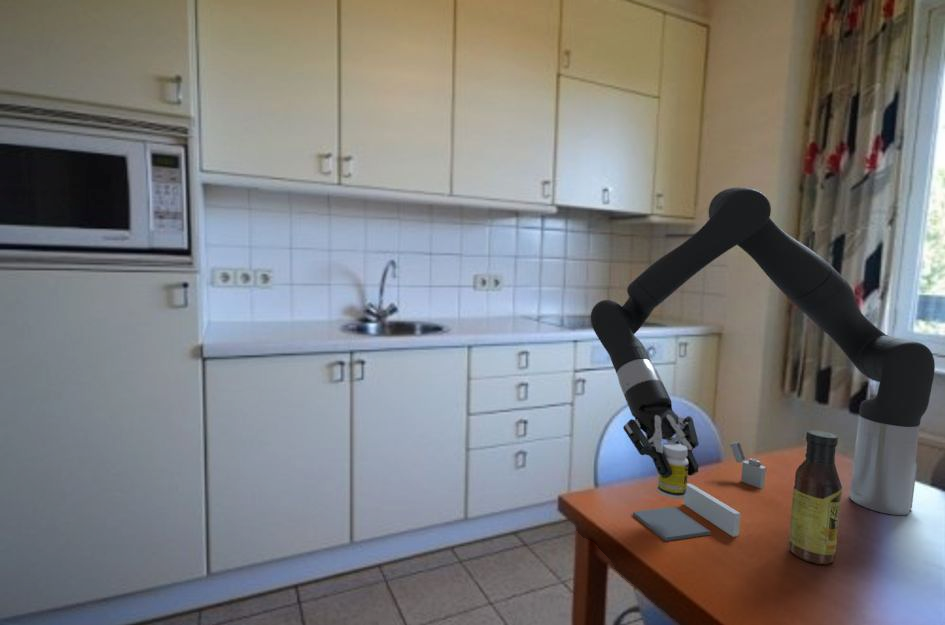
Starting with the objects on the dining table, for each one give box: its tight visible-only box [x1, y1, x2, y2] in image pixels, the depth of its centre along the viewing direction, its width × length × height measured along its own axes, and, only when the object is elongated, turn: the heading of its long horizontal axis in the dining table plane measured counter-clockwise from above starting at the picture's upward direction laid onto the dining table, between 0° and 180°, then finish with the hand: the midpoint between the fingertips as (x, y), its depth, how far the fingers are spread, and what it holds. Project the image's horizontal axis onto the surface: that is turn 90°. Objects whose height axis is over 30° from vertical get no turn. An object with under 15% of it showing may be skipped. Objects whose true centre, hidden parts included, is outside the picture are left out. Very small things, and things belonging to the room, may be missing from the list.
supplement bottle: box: [656, 442, 689, 499], centre depth 88 cm, size 5×5×8 cm
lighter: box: [729, 441, 767, 489], centre depth 108 cm, size 7×2×8 cm, turn 36°
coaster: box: [632, 506, 711, 542], centre depth 88 cm, size 9×9×1 cm
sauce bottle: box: [788, 429, 843, 565], centre depth 79 cm, size 7×6×20 cm
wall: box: [683, 483, 741, 538], centre depth 91 cm, size 1×12×4 cm, turn 17°
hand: (680, 474), depth 86 cm, fingers closed on supplement bottle, 4 cm apart
